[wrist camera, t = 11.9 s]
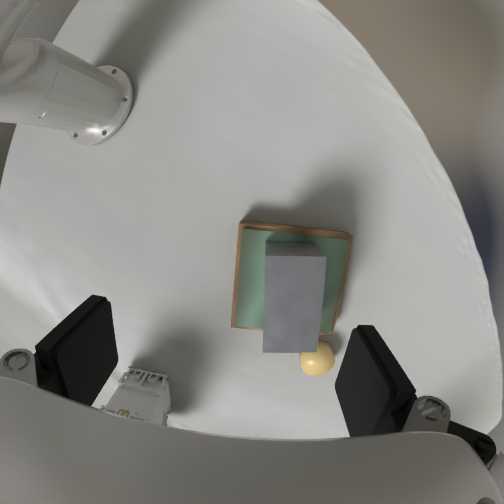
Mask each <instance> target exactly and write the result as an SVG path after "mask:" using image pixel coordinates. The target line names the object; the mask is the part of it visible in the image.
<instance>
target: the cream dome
mask: <svg viewBox="0 0 504 504" xmlns="http://www.w3.org/2000/svg"><path fill="white" fill-rule="evenodd" d="M300 361H301V367H302V369H303V371H304V372H305V373H307V374H309V375H312V376H319V375H323V374H325V373H327V372H328V371H330V370H331V369H332V367H333V365H334V362H335V358H334V355H333V352H332V349H331V347H330V345H329V344H327V343H326V342H324V341H318V347H317V352H307V353H300Z"/></svg>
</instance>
